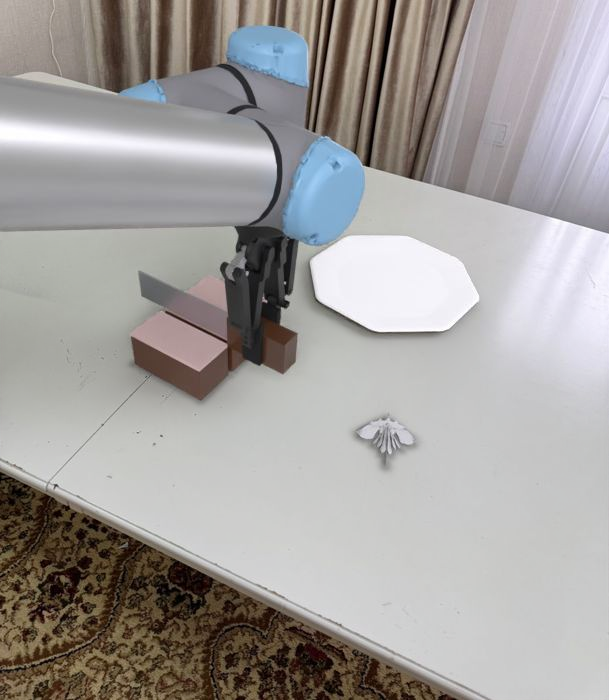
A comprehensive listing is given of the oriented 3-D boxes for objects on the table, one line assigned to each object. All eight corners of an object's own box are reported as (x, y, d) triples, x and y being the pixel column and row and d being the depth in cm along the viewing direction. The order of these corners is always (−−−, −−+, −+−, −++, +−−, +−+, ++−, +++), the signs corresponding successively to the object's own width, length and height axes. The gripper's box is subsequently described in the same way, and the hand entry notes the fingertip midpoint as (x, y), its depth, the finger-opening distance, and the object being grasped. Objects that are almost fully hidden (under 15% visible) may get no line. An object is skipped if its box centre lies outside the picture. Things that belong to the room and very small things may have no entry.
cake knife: (296, 361, 81) (298, 332, 78) (283, 374, 79) (284, 345, 76) (149, 290, 90) (145, 262, 87) (134, 300, 88) (130, 272, 85)
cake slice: (201, 400, 84) (199, 368, 80) (134, 364, 88) (129, 332, 84) (228, 375, 88) (227, 343, 84) (163, 342, 92) (160, 310, 88)
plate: (303, 241, 115) (304, 234, 114) (447, 242, 118) (449, 235, 117) (321, 339, 95) (322, 331, 94) (494, 336, 98) (496, 329, 97)
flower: (415, 475, 78) (419, 465, 76) (352, 466, 79) (354, 456, 77) (416, 425, 83) (420, 414, 81) (357, 416, 84) (359, 405, 81)
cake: (232, 371, 88) (232, 339, 84) (168, 338, 93) (164, 306, 89) (272, 334, 95) (273, 303, 91) (210, 305, 99) (209, 274, 95)
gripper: (249, 233, 59) (247, 401, 75) (333, 173, 70) (316, 331, 86) (188, 208, 62) (199, 375, 78) (278, 154, 73) (271, 311, 88)
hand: (260, 352), depth 82 cm, fingers closed on cake knife, 3 cm apart
